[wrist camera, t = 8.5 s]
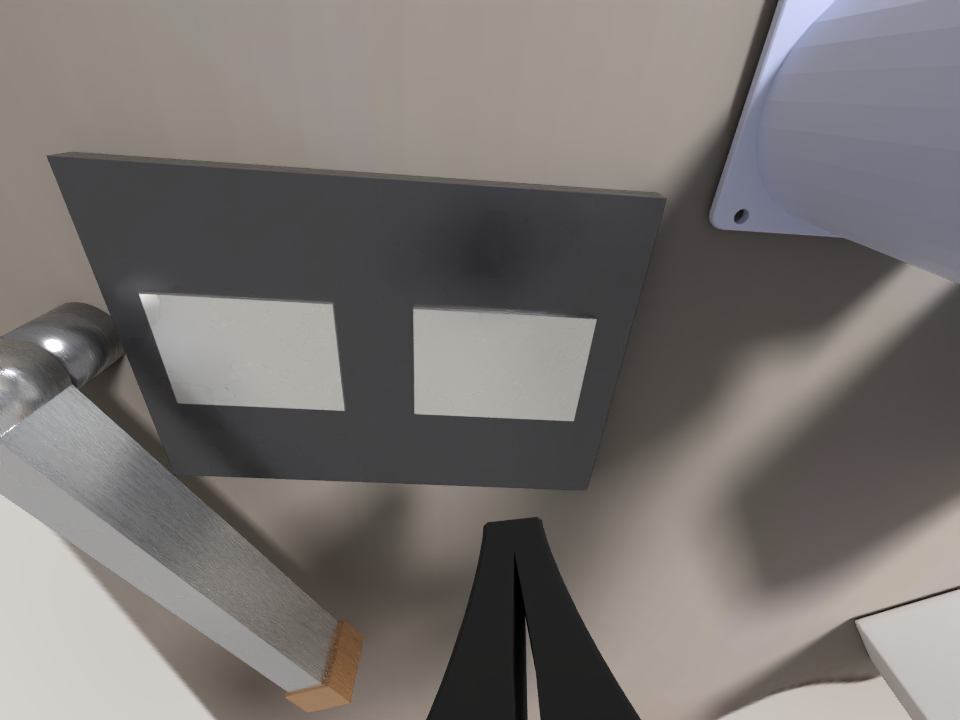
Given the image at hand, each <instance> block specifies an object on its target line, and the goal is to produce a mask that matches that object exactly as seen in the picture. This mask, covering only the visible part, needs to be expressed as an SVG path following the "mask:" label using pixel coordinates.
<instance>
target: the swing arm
mask: <svg viewBox="0 0 960 720" xmlns="http://www.w3.org/2000/svg"><path fill="white" fill-rule="evenodd" d="M0 494H2V495H3V496H5V497H6V498H8V499H9V500H10V501H12V502H13V503H15V504H16V505H18V506H19V507H20V508H22V509H23V510H25V511H26V512H28V513H29V514H31V515H32V516H33V517H35V518H36V519H38V520H39V521H41V522H42V523H44V524H45V525H47V526H48V527H49V528H51V529H52V530H54V531H55V532H57V533H58V534H60V535H61V536H62V537H64V538H65V539H67V540H68V541H70V542H71V543H73V544H74V545H76V546H77V547H78V548H80V549H81V550H83V551H84V552H86V553H87V554H89V555H90V556H91V557H93V558H94V559H96V560H97V561H99V562H100V563H102V564H103V565H104V566H106V567H107V568H109V569H110V570H112V571H113V572H115V573H116V574H118V575H119V576H120V577H122V578H123V579H125V580H126V581H128V582H129V583H131V584H132V585H133V586H135V587H136V588H138V589H139V590H141V591H142V592H144V593H145V594H147V595H148V596H149V597H151V598H152V599H154V600H155V601H157V602H158V603H160V604H161V605H162V606H164V607H165V608H167V609H168V610H170V611H171V612H173V613H174V614H175V615H177V616H178V617H180V618H181V619H183V620H184V621H186V622H187V623H189V624H190V625H191V626H193V627H194V628H196V629H197V630H199V631H200V632H202V633H203V634H204V635H206V636H207V637H209V638H210V639H212V640H213V641H215V642H216V643H218V644H219V645H220V646H222V647H223V648H225V649H226V650H228V651H229V652H231V653H232V654H233V655H235V656H236V657H238V658H239V659H241V660H242V661H244V662H245V663H247V664H248V665H249V666H251V667H252V668H254V669H255V670H257V671H258V672H260V673H261V674H262V675H264V676H265V677H267V678H268V679H270V680H271V681H273V682H274V683H275V684H277V685H278V686H280V687H281V688H283V689H284V690H286V694H285V698H287V699H288V700H289V701H291V702H292V703H294V704H295V705H297V706H298V707H300V708H301V709H303V710H304V711H306V712H307V713H310V712H314V711H319V710H323V709H328V708H332V707H336V706H341V705H345V704H350V703H351V698H352V693H353V688H354V683H355V678H356V673H357V668H358V663H359V658H360V653H361V648H362V643H363V638H364V637H363V636H361V635H360V634H359V633H358V632H357V631H356V630H355V629H354V628H353V627H351V626H350V625H349V624H348V623H347V622H346V621H345V620H343V621H340V622H337V621H336V620H335V619H334V618H333V617H332V616H331V615H330V614H328V613H327V612H326V611H325V610H324V609H323V608H322V607H321V606H320V605H318V604H317V603H316V602H315V601H314V600H313V599H312V598H311V597H309V596H308V595H307V594H306V593H305V592H304V591H303V590H302V589H301V588H299V587H298V586H297V585H296V584H295V583H294V582H293V581H292V580H290V579H289V578H288V577H287V576H286V575H285V574H284V573H283V572H281V571H280V570H279V569H278V568H277V567H276V566H275V565H274V564H273V563H271V562H270V561H269V560H268V559H267V558H266V557H265V556H264V555H262V554H261V553H260V552H259V551H258V550H257V549H256V548H255V547H253V546H252V545H251V544H250V543H249V542H248V541H247V540H246V539H245V538H243V537H242V536H241V535H240V534H239V533H238V532H237V531H236V530H234V529H233V528H232V527H231V526H230V525H229V524H228V523H227V522H226V521H224V520H223V519H222V518H221V517H220V516H219V515H218V514H217V513H215V512H214V511H213V510H212V509H211V508H210V507H209V506H208V505H206V504H205V503H204V502H203V501H202V500H201V499H200V498H199V497H198V496H196V495H195V494H194V493H193V492H192V491H191V490H190V489H189V488H187V487H186V486H185V485H184V484H183V483H182V482H181V481H180V480H178V479H177V478H176V477H175V476H174V475H173V474H172V473H171V472H170V471H168V470H167V469H166V468H165V467H164V466H163V465H162V464H161V463H159V462H158V461H157V460H156V459H155V458H154V457H153V456H152V455H151V454H149V453H148V452H147V451H146V450H145V449H144V448H143V447H142V446H140V445H139V444H138V443H137V442H136V441H135V440H134V439H133V438H131V437H130V436H129V435H128V434H127V433H126V432H125V431H124V430H123V429H121V428H120V427H119V426H118V425H117V424H116V423H115V422H114V421H112V420H111V419H110V418H109V417H108V416H107V415H106V414H105V413H104V412H102V411H101V410H100V409H99V408H98V407H97V406H96V405H95V404H93V403H92V402H91V401H90V400H89V399H88V398H87V397H86V396H84V395H83V394H82V393H81V392H80V391H79V390H78V389H77V388H76V387H74V386H73V385H72V383H71V379H70V376H69V374H68V372H67V371H66V369H65V368H64V367H63V365H62V364H61V363H60V362H59V361H58V360H57V359H56V358H54V357H53V356H52V355H51V354H49V353H48V352H47V351H45V350H43V349H42V348H40V347H38V346H36V345H33V344H31V343H28V342H25V341H22V340H18V339H10V338H4V339H0Z"/></svg>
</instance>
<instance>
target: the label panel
mask: <svg viewBox="0 0 960 720" xmlns="http://www.w3.org/2000/svg"><path fill="white" fill-rule="evenodd" d="M47 158H48V161H49V163H50V166H51V168H52V171H53V173H54V176H55V178H56V181H57V183H58V185H59V188H60V190H61V193H62V195H63V198H64V200H65V203H66V205H67V208H68V210H69V213H70V215H71V218H72V220H73V223H74V225H75V228H76V230H77V233H78V235H79V238H80V240H81V243H82V245H83V248H84V250H85V253H86V255H87V258H88V260H89V263H90V265H91V268H92V270H93V273H94V275H95V278H96V280H97V283H98V285H99V288H100V290H101V293H102V295H103V298H104V300H105V303H106V305H107V308H108V310H109V313H110V315H111V317H110V316H109V315H108V314H107V313H105V312H103V311H102V310H100V309H98V308H96V307H94V306H91V305H88V304H84V303H77V302H71V303H66V304H63V305H61V306H59V307H57V308H55V309H53V310H51V311H49V312H47V313H45V314H43V315H41V316H39V317H38V318H36V319H34V320H32V321H30V322H28V323H26V324H24V325H22V326H20V327H18V328H16V329H15V330H13V331H11V332H9V333H7V334H5V335H3V336H1V337H0V339H4V338H10V339H18V340H22V341H25V342H28V343H31V344H33V345H36V346H38V347H40V348H42V349H43V350H45V351H47V352H48V353H49V354H51V355H52V356H53V357H54V358H56V359H57V360H58V361H59V362H60V363H61V364H62V365H63V367H64V368H65V369H66V371H67V372H68V374H69V376H70V379H71V383H72V385H73V386H74V387H76V388H77V389H78V390H79V389H80V388H81V387H82V386H84V385H85V384H86V383H88V382H89V381H90V380H92V379H93V378H94V377H96V376H97V375H98V374H100V373H101V372H102V371H104V370H105V369H106V368H108V367H109V366H110V365H112V364H113V363H114V362H115V361H117V360H118V359H119V358H121V357H122V356H123V355H124V353H125V352H126V355H127V357H128V360H129V362H130V365H131V367H132V370H133V372H134V375H135V377H136V380H137V382H138V385H139V387H140V390H141V392H142V395H143V397H144V400H145V402H146V405H147V407H148V410H149V412H150V415H151V417H152V420H153V422H154V425H155V427H156V430H157V432H158V435H159V437H160V440H161V442H162V445H163V447H164V450H165V452H166V455H167V457H168V459H169V462H170V464H171V467H172V469H173V472H174V474H175V475H194V476H220V477H247V478H273V479H299V480H325V481H351V482H377V483H403V484H429V485H455V486H481V487H507V488H533V489H559V490H585V491H587V488H588V484H589V481H590V477H591V473H592V470H593V466H594V462H595V459H596V455H597V451H598V448H599V444H600V440H601V437H602V433H603V430H604V426H605V422H606V419H607V415H608V411H609V408H610V404H611V400H612V397H613V393H614V389H615V386H616V382H617V378H618V375H619V371H620V367H621V364H622V360H623V356H624V353H625V349H626V345H627V342H628V338H629V334H630V331H631V327H632V323H633V320H634V316H635V313H636V309H637V305H638V302H639V298H640V294H641V291H642V287H643V283H644V280H645V276H646V272H647V269H648V265H649V261H650V258H651V254H652V250H653V247H654V243H655V239H656V236H657V232H658V228H659V225H660V221H661V217H662V214H663V210H664V206H665V203H666V199H667V198H665V197H663V196H661V195H660V194H658V193H654V192H640V191H625V190H611V189H597V188H582V187H568V186H554V185H539V184H525V183H510V182H496V181H482V180H467V179H453V178H439V177H424V176H410V175H395V174H381V173H367V172H352V171H338V170H324V169H309V168H295V167H280V166H266V165H252V164H237V163H223V162H209V161H194V160H180V159H166V158H151V157H137V156H122V155H108V154H94V153H79V152H67V153H61V154H54V155H48V156H47Z"/></svg>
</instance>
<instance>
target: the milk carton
mask: <svg viewBox="0 0 960 720" xmlns="http://www.w3.org/2000/svg"><path fill="white" fill-rule="evenodd" d="M855 624H856V626H857V628H858V631H859V633H860V635H861V638H862V640H863V642H864V645H865V647H866V649H867V652H868V654H869V656H870V659H871V661H872V662H873V664H874V665H875V667H876V668H877V670H878V671H879V673H880V674H881V675H882V677H883V678H884V680H885V681H886V682H887V684H888V685H889V687H890V688H891V690H892V691H893V692H894V694H895V695H896V697H897V698H898V700H899V701H900V703H901V704H902V705H903V707H904V708H905V710H906V711H907V712H908V714H909V716H910V717H911V718H912V720H960V589H958V590H955V591H951V592H948V593H945V594H941V595H938V596H934V597H931V598H928V599H924V600H921V601H918V602H914V603H911V604H908V605H904V606H901V607H898V608H894V609H891V610H887V611H884V612H881V613H878V614H874V615H871V616H868V617H864V618H861V619H858V620H855Z"/></svg>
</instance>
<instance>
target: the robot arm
mask: <svg viewBox="0 0 960 720" xmlns="http://www.w3.org/2000/svg"><path fill="white" fill-rule="evenodd" d="M741 209H743V210H744V212H743V216H742V217H741V218H740V219H739V220H738V221H734V216H735V214H736V213H737V212H738V211H739V210H741ZM709 220H710V223H711V224H712V225H713V226H714V227H716V228H718V229H722V230H735V231H751V232H766V233H781V234H796V235H811V236H826V237H841V238H846V239H848V240H851V241H853V242H856V243H858V244H861V245H863V246H866V247H868V248H871V249H873V250H876V251H878V252H881V253H883V254H886V255H888V256H891V257H893V258H896V259H898V260H901V261H903V262H906V263H908V264H911V265H913V266H916V267H918V268H921V269H923V270H926V271H928V272H931V273H933V274H936V275H938V276H941V277H943V278H946V279H948V280H951V281H953V282H956V283H958V284H960V0H779V1H778V4H777V7H776V11H775V14H774V17H773V20H772V23H771V26H770V29H769V32H768V35H767V38H766V41H765V44H764V47H763V50H762V53H761V56H760V60H759V63H758V66H757V69H756V72H755V75H754V78H753V81H752V84H751V87H750V90H749V93H748V96H747V99H746V102H745V105H744V109H743V112H742V115H741V118H740V121H739V124H738V127H737V130H736V133H735V136H734V139H733V142H732V145H731V148H730V151H729V154H728V158H727V161H726V164H725V167H724V170H723V173H722V176H721V179H720V182H719V185H718V188H717V191H716V194H715V197H714V200H713V203H712V206H711V210H710V213H709ZM525 616H526V622H527V627H528V633H529V638H530V643H531V649H532V654H533V659H534V665H535V670H536V678H537V688H538V698H539V708H540V718H541V720H641V719H640V717H639V716H638V714H637V713H636V711H635V710H634V708H633V706H632V705H631V703H630V702H629V700H628V699H627V697H626V695H625V694H624V692H623V691H622V689H621V687H620V686H619V684H618V682H617V681H616V679H615V677H614V676H613V674H612V673H611V671H610V669H609V667H608V666H607V664H606V662H605V661H604V659H603V657H602V655H601V654H600V652H599V650H598V648H597V646H596V645H595V643H594V641H593V639H592V637H591V636H590V634H589V632H588V630H587V628H586V626H585V624H584V622H583V621H582V619H581V617H580V615H579V613H578V611H577V609H576V607H575V605H574V603H573V601H572V598H571V596H570V594H569V592H568V590H567V588H566V586H565V584H564V582H563V579H562V577H561V575H560V573H559V570H558V568H557V565H556V563H555V560H554V558H553V556H552V553H551V550H550V547H549V545H548V542H547V539H546V535H545V532H544V528H543V524H542V520H541V519H539V518H538V517H533V518H524V519H515V520H506V521H496V522H488V523H487V524H485V525H484V528H483V538H482V545H481V551H480V556H479V561H478V566H477V570H476V574H475V579H474V583H473V586H472V590H471V594H470V597H469V601H468V605H467V608H466V612H465V615H464V619H463V622H462V625H461V628H460V631H459V634H458V637H457V640H456V643H455V646H454V649H453V652H452V655H451V658H450V661H449V663H448V666H447V669H446V672H445V674H444V677H443V680H442V682H441V685H440V687H439V690H438V692H437V695H436V697H435V700H434V702H433V705H432V707H431V710H430V712H429V715H428V717H427V719H426V720H527V674H526V629H525Z"/></svg>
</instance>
